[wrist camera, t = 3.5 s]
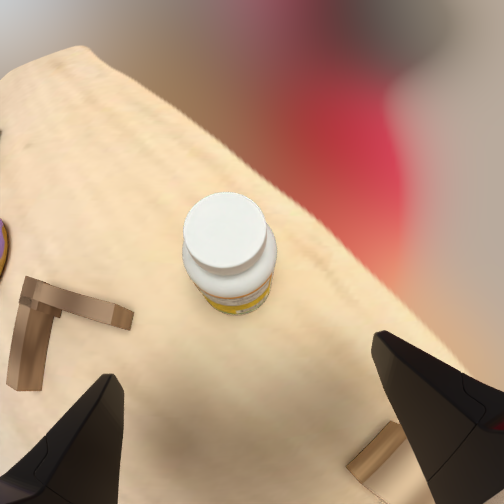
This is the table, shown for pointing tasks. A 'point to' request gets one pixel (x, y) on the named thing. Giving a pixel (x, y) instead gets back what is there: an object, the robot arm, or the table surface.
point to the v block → (49, 327)
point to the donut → (3, 245)
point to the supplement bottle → (229, 252)
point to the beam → (391, 469)
